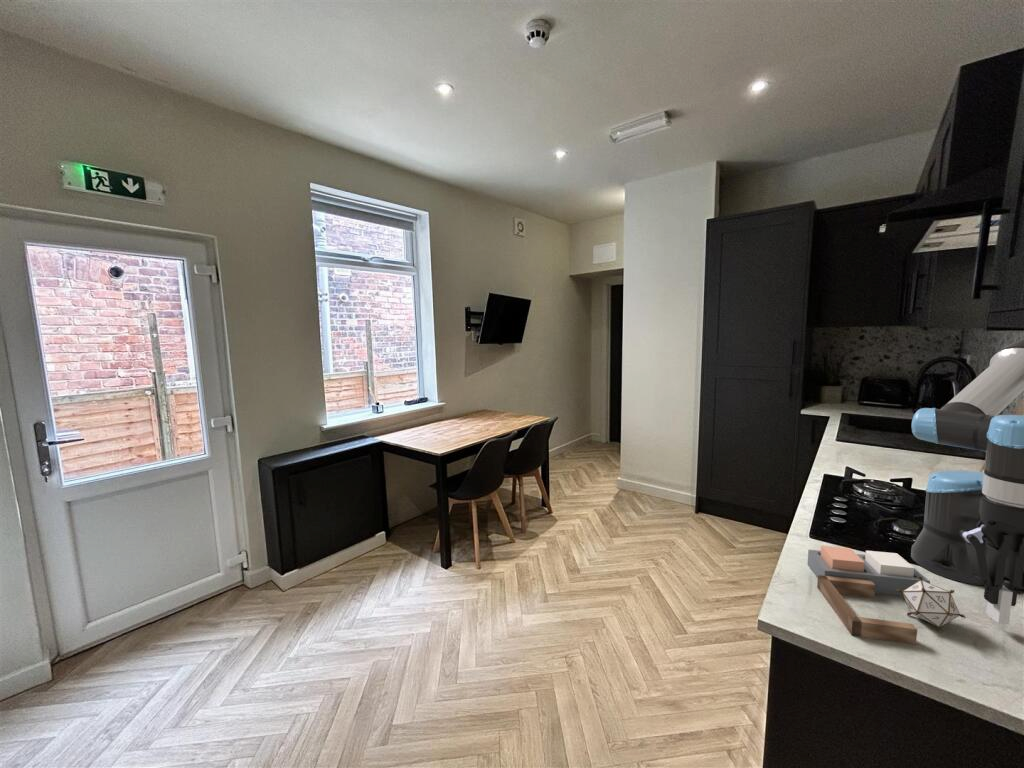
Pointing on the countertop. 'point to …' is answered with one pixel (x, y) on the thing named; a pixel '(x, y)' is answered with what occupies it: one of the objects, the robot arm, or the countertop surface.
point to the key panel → (864, 575)
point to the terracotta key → (842, 558)
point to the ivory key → (889, 563)
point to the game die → (930, 603)
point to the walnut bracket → (861, 625)
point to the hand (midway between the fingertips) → (997, 618)
